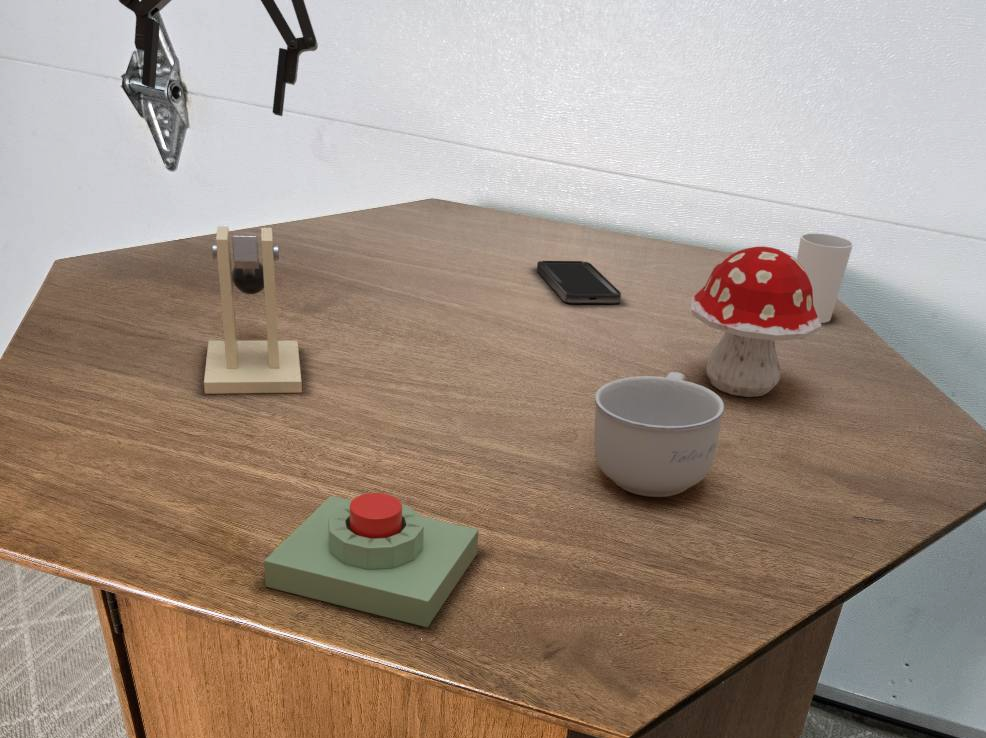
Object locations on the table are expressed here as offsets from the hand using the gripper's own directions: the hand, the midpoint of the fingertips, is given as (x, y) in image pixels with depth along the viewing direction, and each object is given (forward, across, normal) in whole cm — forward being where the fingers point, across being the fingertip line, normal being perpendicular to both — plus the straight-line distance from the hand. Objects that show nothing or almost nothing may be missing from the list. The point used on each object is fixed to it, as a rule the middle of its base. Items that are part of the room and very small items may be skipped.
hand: (213, 101), depth 107 cm
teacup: (+26, +47, -37) cm, 65 cm away
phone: (+12, +46, +15) cm, 50 cm away
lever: (+17, +8, -16) cm, 25 cm away
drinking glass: (+10, +77, +8) cm, 78 cm away
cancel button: (+29, +23, -53) cm, 65 cm away
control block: (+32, +24, -52) cm, 66 cm away
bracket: (+26, +9, -18) cm, 33 cm away
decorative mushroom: (+19, +60, -17) cm, 65 cm away
